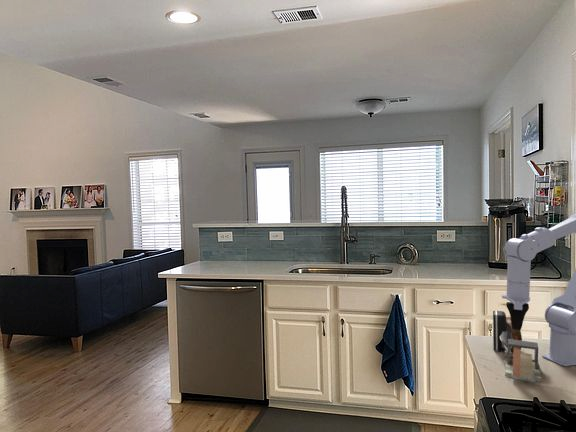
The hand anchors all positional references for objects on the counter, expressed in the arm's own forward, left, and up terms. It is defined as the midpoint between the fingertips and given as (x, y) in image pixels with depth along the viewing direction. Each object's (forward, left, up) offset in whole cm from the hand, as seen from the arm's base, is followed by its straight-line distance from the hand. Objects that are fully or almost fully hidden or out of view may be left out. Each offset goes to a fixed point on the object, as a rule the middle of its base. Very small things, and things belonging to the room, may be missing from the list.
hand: (516, 328), depth 127 cm
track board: (+1, +3, -10) cm, 11 cm away
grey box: (-1, +2, -9) cm, 10 cm away
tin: (-10, -13, -11) cm, 20 cm away
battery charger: (-5, -12, -10) cm, 17 cm away
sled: (+5, +8, -9) cm, 13 cm away
